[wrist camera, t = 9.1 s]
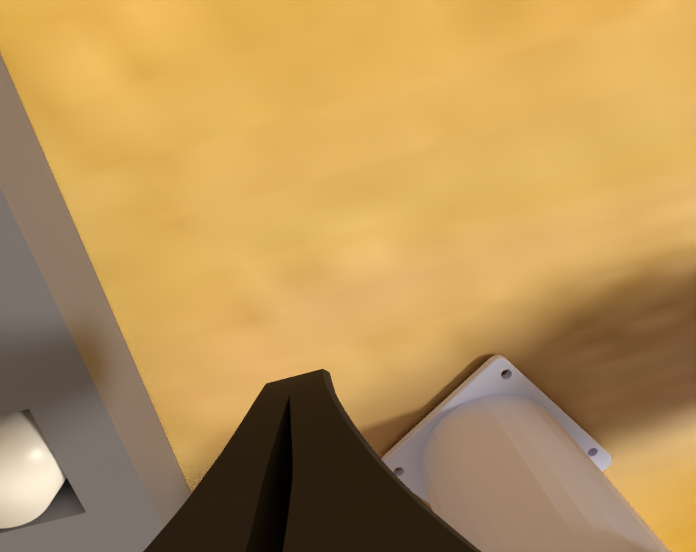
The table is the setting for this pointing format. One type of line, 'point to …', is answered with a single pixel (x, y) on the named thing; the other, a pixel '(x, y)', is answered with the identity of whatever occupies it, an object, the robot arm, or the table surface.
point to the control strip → (72, 368)
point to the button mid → (25, 470)
